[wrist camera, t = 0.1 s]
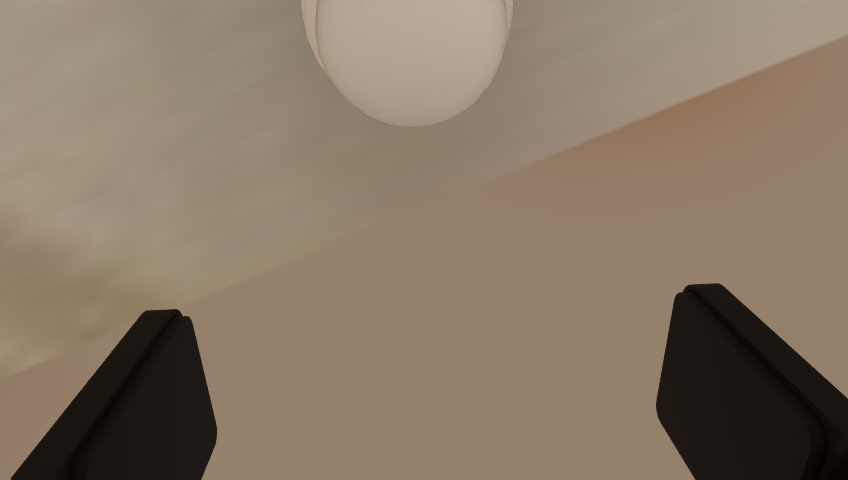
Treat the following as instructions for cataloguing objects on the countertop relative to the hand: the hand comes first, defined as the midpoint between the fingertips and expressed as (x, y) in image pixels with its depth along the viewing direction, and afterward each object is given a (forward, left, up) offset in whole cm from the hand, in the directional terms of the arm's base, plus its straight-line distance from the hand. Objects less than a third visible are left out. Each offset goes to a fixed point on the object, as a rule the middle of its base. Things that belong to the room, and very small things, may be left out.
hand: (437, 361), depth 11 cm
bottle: (-6, 0, -31) cm, 32 cm away
